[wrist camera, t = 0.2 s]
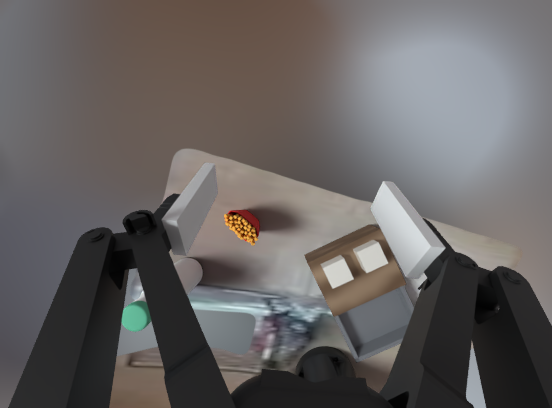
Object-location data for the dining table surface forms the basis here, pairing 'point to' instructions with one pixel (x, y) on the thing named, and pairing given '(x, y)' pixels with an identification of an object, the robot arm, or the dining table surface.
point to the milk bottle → (137, 311)
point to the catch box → (376, 324)
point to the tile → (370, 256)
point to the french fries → (243, 225)
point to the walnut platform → (355, 271)
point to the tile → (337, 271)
